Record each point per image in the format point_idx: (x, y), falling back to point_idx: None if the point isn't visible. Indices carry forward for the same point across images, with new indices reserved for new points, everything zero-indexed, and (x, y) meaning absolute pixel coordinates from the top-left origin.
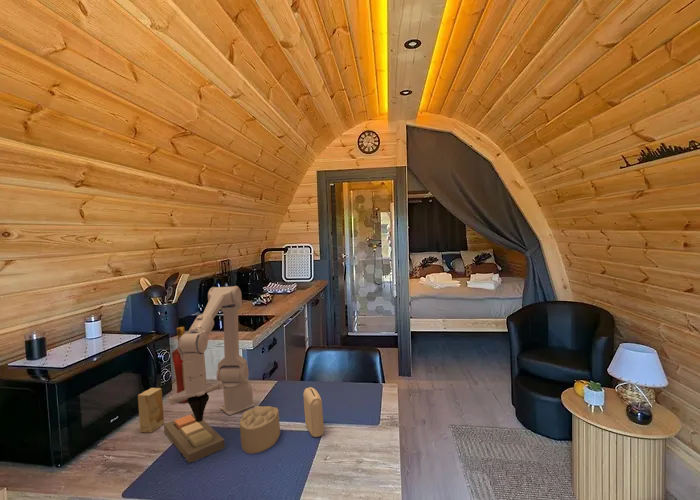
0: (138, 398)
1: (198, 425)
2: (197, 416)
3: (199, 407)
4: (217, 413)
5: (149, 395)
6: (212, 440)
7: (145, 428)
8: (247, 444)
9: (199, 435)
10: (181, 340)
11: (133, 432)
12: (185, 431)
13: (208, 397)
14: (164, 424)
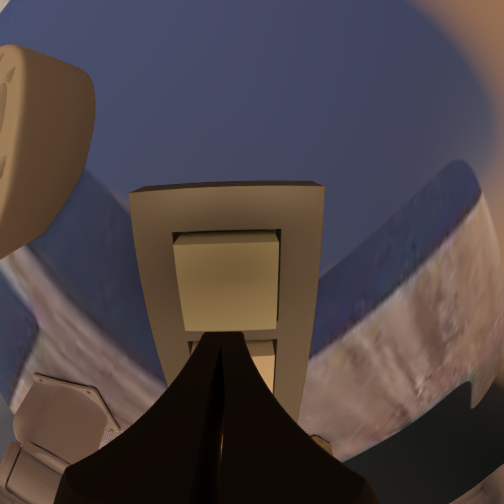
0: None
1: None
2: (247, 360)
3: (210, 437)
4: (130, 419)
5: None
6: (179, 231)
7: (325, 448)
8: (72, 74)
9: (228, 301)
10: None
11: (338, 447)
12: (269, 375)
13: (57, 489)
14: None
